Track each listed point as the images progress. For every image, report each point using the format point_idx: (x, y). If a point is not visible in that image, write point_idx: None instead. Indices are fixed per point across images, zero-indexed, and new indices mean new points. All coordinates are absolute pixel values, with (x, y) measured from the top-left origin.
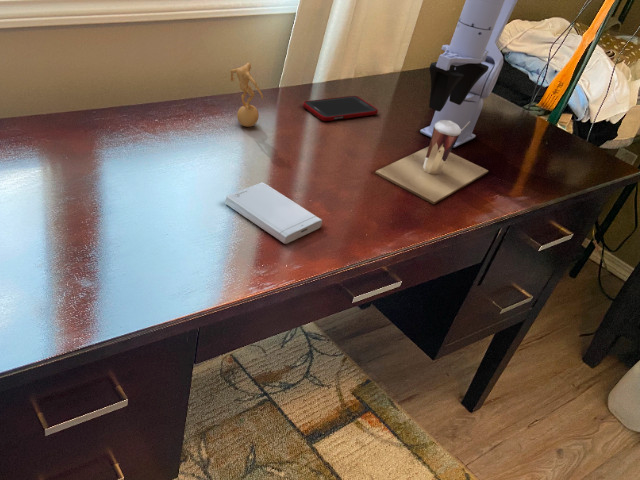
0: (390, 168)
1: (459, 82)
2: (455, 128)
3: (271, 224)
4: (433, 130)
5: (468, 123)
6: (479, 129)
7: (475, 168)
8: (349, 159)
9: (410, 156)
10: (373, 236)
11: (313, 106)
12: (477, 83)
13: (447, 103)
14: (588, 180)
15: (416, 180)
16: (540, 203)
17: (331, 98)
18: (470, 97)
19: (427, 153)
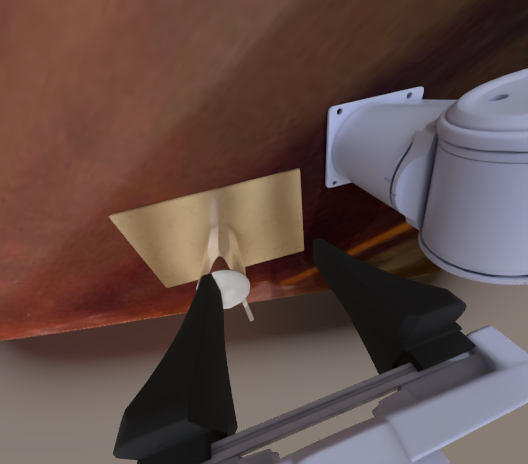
0: (146, 217)
1: (346, 283)
2: (223, 308)
3: None
4: (201, 274)
5: (249, 318)
6: None
7: (292, 243)
8: (66, 155)
9: (216, 194)
10: (39, 317)
11: None
12: (439, 242)
13: (378, 166)
14: None
15: (174, 251)
16: (296, 295)
17: None
18: (406, 215)
19: (207, 245)
